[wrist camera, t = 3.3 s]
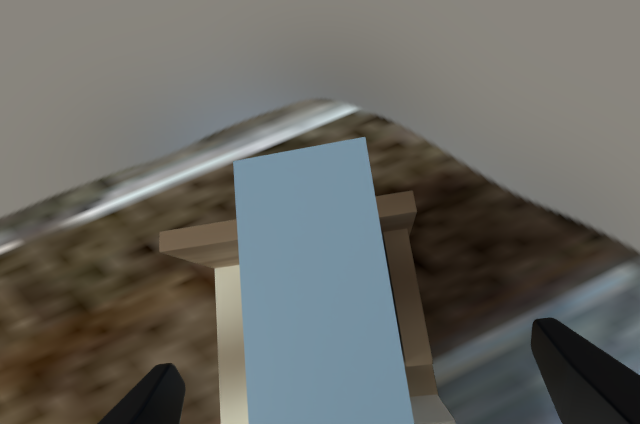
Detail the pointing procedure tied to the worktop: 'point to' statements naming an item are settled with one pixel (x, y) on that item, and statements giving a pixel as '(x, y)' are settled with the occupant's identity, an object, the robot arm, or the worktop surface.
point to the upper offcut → (432, 415)
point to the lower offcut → (425, 401)
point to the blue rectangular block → (317, 291)
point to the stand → (222, 254)
